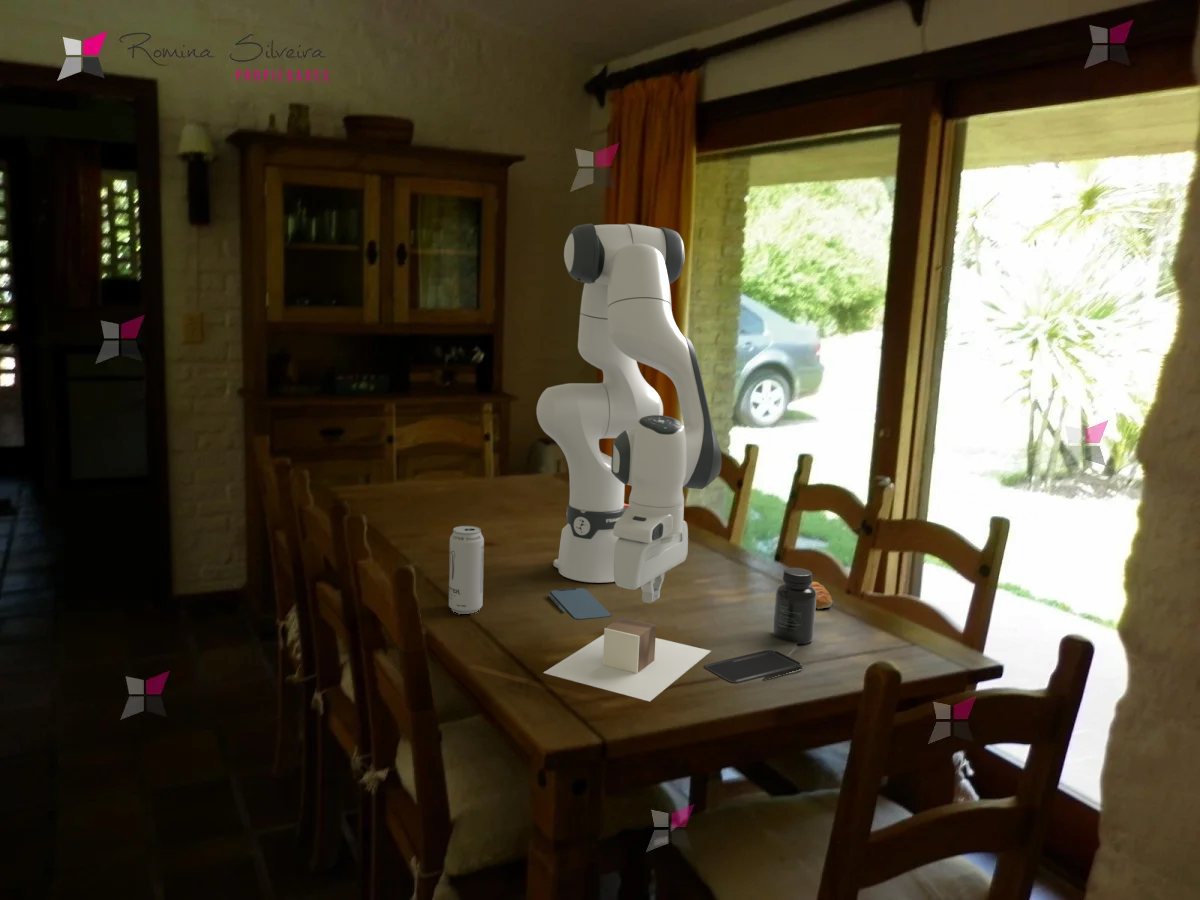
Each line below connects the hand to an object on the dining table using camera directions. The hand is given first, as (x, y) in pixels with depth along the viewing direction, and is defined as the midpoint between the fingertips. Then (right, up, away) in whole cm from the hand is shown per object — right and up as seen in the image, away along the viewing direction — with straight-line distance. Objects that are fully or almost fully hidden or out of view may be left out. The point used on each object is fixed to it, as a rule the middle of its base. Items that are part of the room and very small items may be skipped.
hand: (650, 600), depth 160 cm
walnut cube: (-2, -6, -4) cm, 7 cm away
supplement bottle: (+25, -8, +10) cm, 28 cm away
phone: (+16, -11, -5) cm, 20 cm away
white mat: (-4, -9, -5) cm, 11 cm away
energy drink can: (-32, -5, +17) cm, 37 cm away
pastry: (+33, -5, +30) cm, 44 cm away
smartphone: (-12, -5, +20) cm, 24 cm away
